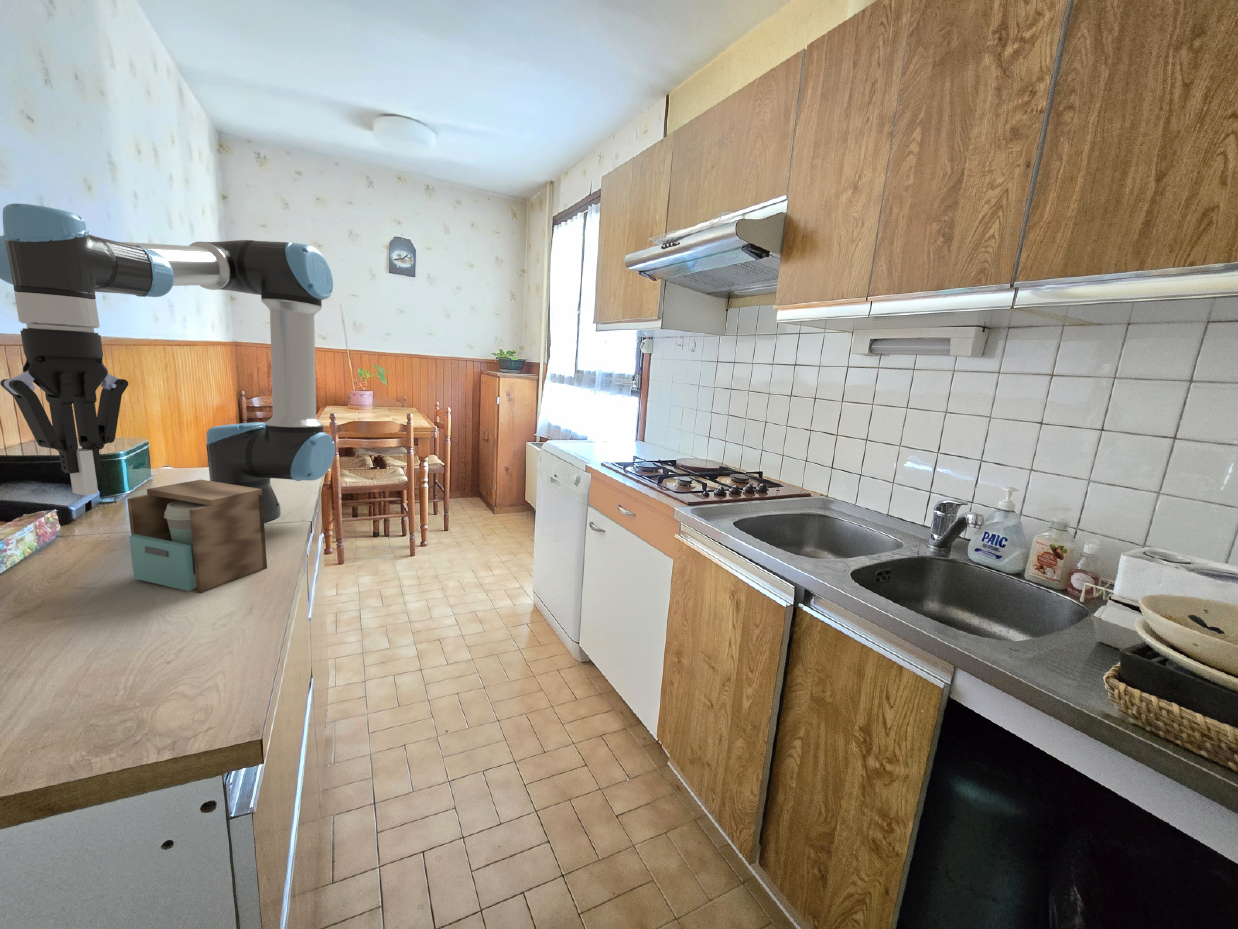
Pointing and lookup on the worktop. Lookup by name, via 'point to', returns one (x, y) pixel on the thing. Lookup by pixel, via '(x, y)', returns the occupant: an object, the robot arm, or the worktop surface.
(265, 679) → the worktop surface
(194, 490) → the cubby
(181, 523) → the coffee cup
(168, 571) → the teal drawer
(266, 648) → the worktop surface
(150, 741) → the worktop surface
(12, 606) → the worktop surface
